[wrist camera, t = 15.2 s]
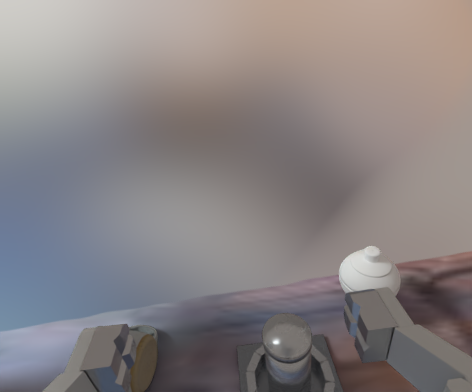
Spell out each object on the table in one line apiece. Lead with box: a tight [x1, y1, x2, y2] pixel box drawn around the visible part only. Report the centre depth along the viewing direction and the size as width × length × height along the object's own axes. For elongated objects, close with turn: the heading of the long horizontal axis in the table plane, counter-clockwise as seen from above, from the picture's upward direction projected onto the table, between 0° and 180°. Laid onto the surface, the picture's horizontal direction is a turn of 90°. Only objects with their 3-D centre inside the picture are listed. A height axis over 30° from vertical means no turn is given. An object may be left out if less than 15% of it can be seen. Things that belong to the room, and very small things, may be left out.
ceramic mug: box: [98, 325, 158, 392], centre depth 40 cm, size 11×8×8 cm
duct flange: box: [237, 334, 343, 392], centre depth 36 cm, size 12×12×3 cm
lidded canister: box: [262, 313, 312, 392], centre depth 34 cm, size 5×5×10 cm
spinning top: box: [339, 246, 401, 296], centre depth 42 cm, size 8×8×12 cm
